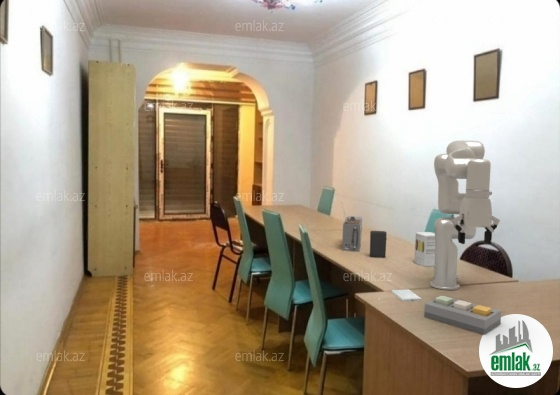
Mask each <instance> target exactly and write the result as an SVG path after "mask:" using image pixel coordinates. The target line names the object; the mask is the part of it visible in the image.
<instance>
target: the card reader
mask: <svg viewBox="0 0 560 395" xmlns="http://www.w3.org/2000/svg"><path fill="white" fill-rule="evenodd" d="M369 233H370V235H369V239H370V240H369V257H372V258H382V259H383V258H386V253H387V252H386V250H387V240H388V239H387V231H384V230H370V232H369Z"/></svg>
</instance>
